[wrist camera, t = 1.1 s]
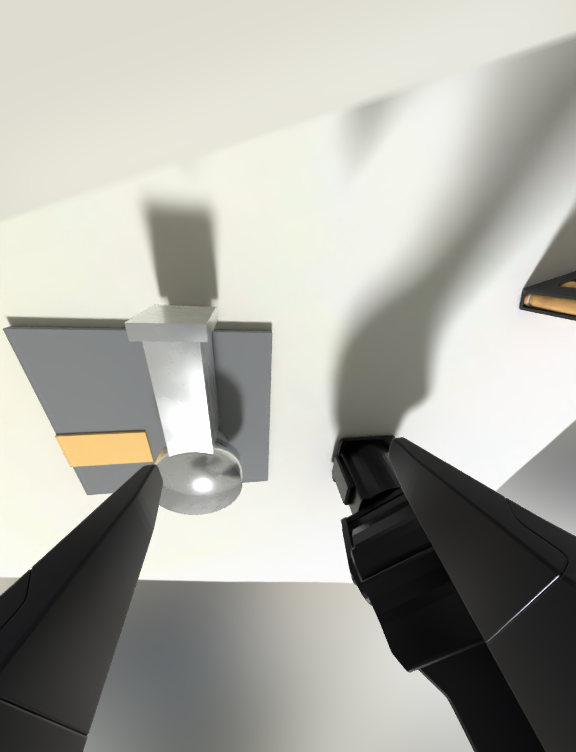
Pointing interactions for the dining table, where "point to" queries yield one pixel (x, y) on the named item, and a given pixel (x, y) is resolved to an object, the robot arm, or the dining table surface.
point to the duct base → (138, 398)
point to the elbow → (187, 408)
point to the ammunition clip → (552, 297)
